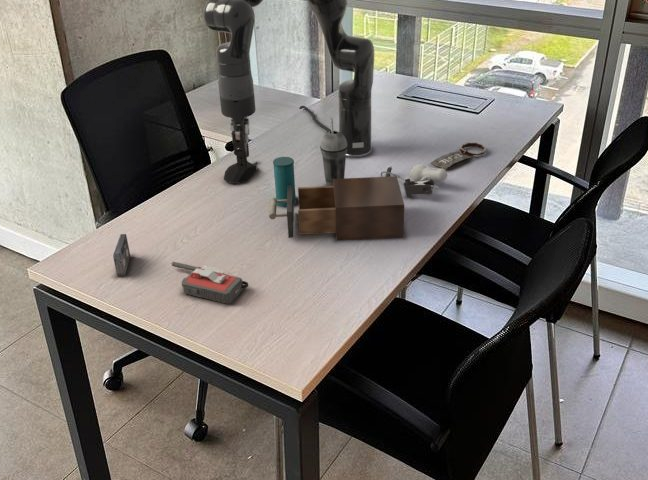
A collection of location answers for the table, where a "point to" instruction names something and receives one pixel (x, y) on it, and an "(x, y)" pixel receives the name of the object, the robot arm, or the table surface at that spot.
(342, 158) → the beverage cup
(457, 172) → the table surface
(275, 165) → the tin
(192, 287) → the walkie-talkie
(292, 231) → the drawer
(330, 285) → the table surface
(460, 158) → the keychain
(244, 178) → the gaming mouse
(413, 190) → the clip-on lamp
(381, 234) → the cabinet
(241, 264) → the table surface
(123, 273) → the mini dv tape
